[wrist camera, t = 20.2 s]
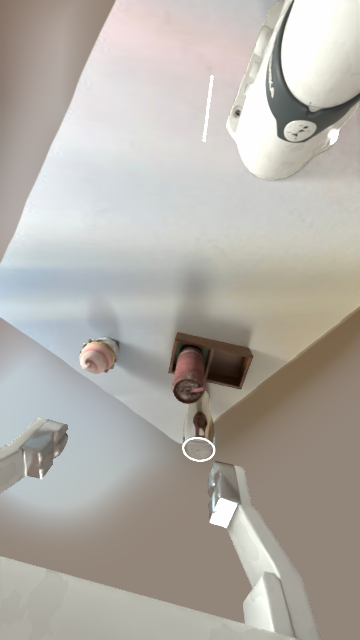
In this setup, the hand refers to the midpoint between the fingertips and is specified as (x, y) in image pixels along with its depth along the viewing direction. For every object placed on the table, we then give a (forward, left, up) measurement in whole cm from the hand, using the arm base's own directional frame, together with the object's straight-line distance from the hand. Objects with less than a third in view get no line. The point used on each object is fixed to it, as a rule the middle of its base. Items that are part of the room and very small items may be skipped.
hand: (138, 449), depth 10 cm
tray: (+12, +8, -35) cm, 38 cm away
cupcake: (+16, -18, -35) cm, 43 cm away
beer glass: (+25, +9, -35) cm, 44 cm away
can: (+12, +4, -34) cm, 37 cm away
